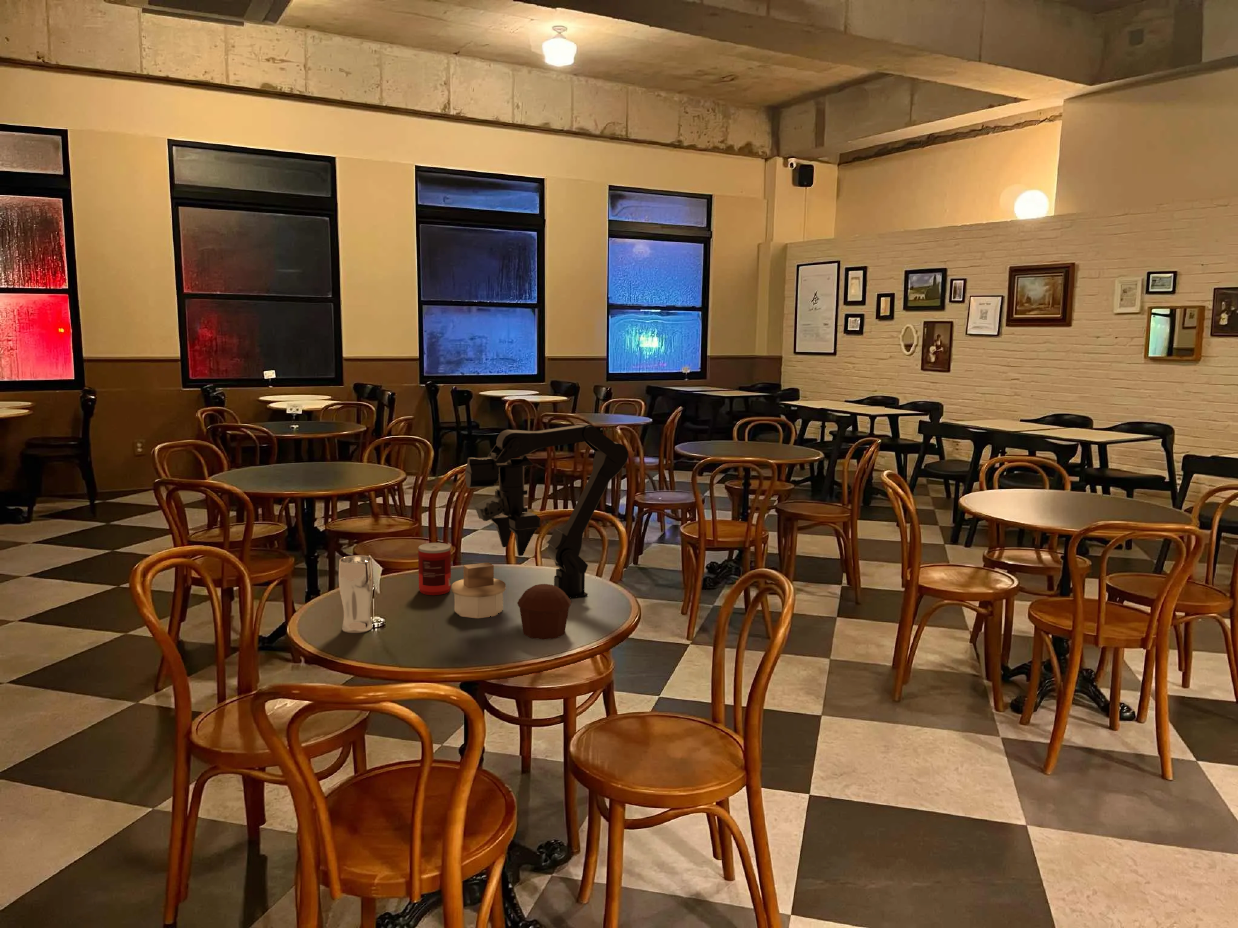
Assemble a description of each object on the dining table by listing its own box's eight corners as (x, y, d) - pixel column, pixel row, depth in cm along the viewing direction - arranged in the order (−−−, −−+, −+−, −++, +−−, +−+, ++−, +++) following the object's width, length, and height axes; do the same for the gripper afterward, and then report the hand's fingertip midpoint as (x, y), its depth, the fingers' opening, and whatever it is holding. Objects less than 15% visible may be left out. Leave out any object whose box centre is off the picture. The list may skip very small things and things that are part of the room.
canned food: (440, 584, 218) (439, 541, 216) (457, 591, 212) (457, 547, 210) (412, 589, 213) (411, 545, 211) (429, 597, 207) (429, 552, 205)
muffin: (511, 626, 188) (511, 581, 187) (560, 620, 192) (561, 576, 191) (526, 644, 177) (526, 597, 176) (578, 638, 182) (579, 592, 180)
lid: (493, 579, 206) (493, 556, 205) (513, 592, 195) (513, 568, 194) (444, 585, 200) (444, 561, 199) (462, 599, 189) (462, 575, 188)
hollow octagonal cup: (491, 601, 205) (491, 580, 204) (508, 613, 196) (508, 592, 196) (450, 607, 200) (449, 586, 199) (465, 620, 191) (465, 598, 191)
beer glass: (381, 625, 187) (379, 556, 185) (361, 635, 180) (359, 564, 178) (353, 621, 189) (351, 553, 187) (333, 631, 183) (331, 561, 180)
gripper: (463, 481, 206) (465, 546, 208) (494, 495, 190) (495, 565, 192) (507, 478, 211) (508, 541, 214) (541, 490, 196) (541, 558, 198)
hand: (512, 551), depth 204 cm, fingers open, 9 cm apart
